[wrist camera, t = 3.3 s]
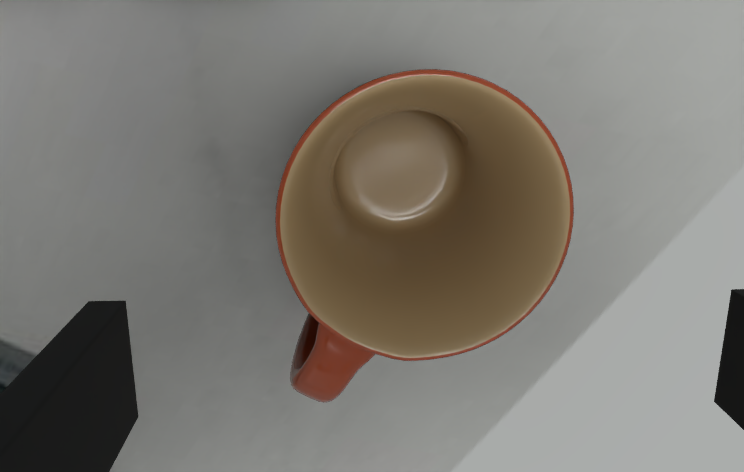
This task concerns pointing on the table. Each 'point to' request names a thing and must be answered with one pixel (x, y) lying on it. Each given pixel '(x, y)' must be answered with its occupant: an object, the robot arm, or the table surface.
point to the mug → (418, 223)
